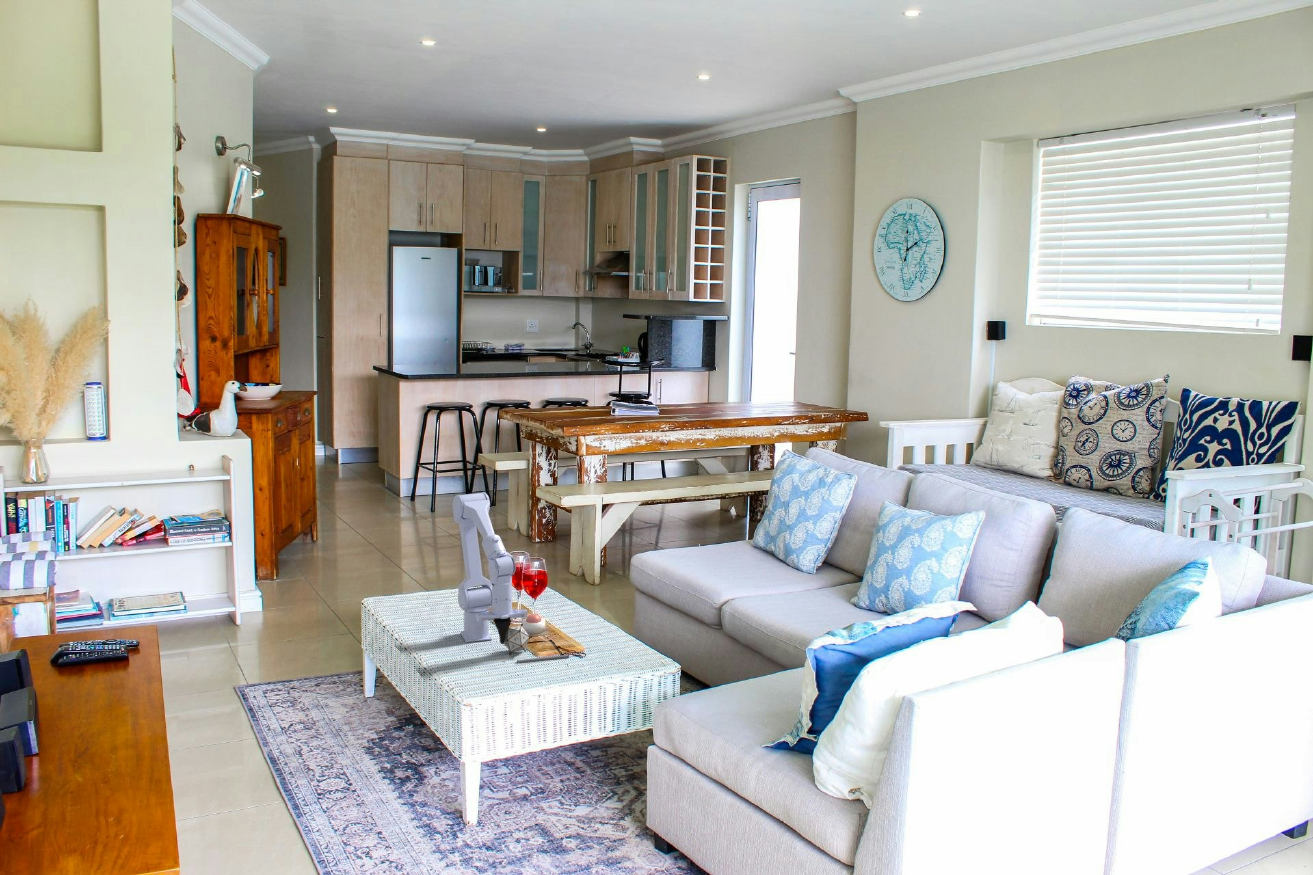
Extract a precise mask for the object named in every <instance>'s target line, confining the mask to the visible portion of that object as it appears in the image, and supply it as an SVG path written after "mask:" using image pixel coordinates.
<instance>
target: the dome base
mask: <svg viewBox="0 0 1313 875" xmlns="http://www.w3.org/2000/svg"><path fill="white" fill-rule="evenodd" d="M549 633H550V634H551V629H550V627H548V626H545V631H544V632H542V633H538V634H528V635H529V636H533V637H538V636H545V635H547V634H549Z"/></svg>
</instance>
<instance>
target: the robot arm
mask: <svg viewBox="0 0 1313 875" xmlns="http://www.w3.org/2000/svg"><path fill="white" fill-rule="evenodd" d="M451 506H452V513H453V520H454V522H455V523H457V524H458V525H459V532H460V540H461V547H462V548H461V549H462V556H463V564H464V565H463V566H464V573H465V578H464V579H463V580H462V581H461V583H459V585H458V587H457V590H458V591H457V592H458V593H457V602H458V605H459V607H460V609H462V611H464V612H463V630H461V631H460V634H461V636H462V638H463V640H464V642H465V643H470V642H471V643H473V642H483V641H492V640H493V637H492V636H491V634H490V632H489V628H490V627H489V621H493V623H494V625H495V627H496V630H497V632H498V636H499V642H500V645H505V644H504V639H505V636H506V633H507V630H508V628H509V627H510V626H511V624H512V620H511V619H518V618H523V619H525V618H527V617H528V610H527V609H526V608H524V609H513V582H512V581H513V580H512V579H513V576H514V574H515V572H516V570H517V569H516V562H515V558H514V557H513V555H511V554H510V553H509V552H507V550H506V547H505V546H504V543H503V540H502V538H501V537H500V535H498V534H495V531H494V528H493V525H492V524H493V523H492V521H491V518H490V513H489V512H490V508H491V507H490V506H491V501H490V497H489V495H488V494H487V493H486V492H485V491H483V492H482V491H481V492H477V493H468V494H456V495H455V496H454V497H453V500H452V505H451ZM478 531H479V533H480V536H481V538H482V542H481V546H482V549H483V551H484V553H485V556H486V559H487V560H488V563H487V570H488V574H489V579H488V578H486V577H485V576H483V569H482V560H481V555H480V554H481V553H480V546H479V539H478V537H479V536H478ZM490 609H491V610H490Z"/></svg>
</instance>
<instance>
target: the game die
mask: <svg viewBox="0 0 1313 875" xmlns="http://www.w3.org/2000/svg"><path fill="white" fill-rule="evenodd" d="M522 625H523V623H522V622H521V624H520V625H516V626H511V627H510V626H509V628H508V630H507V633H506V636H505V639H504V644H503V645H504V646H505V647H506V648H507V649H508V652H509V653H508V655H510V656H511V654H512V653H515V652H521V651H524V653H527V650H526V648H527V645H528V644H529V643H528V641H529V639H530V638H532V637H533V636H529V635H528V633H527V632H526V631H525V629H524V628H523V627H522Z"/></svg>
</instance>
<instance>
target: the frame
mask: <svg viewBox="0 0 1313 875" xmlns="http://www.w3.org/2000/svg"><path fill="white" fill-rule="evenodd" d="M569 657H570V656H569V654H568V653H567V654H564V655H562V654H561V655H555V656H544V657H533V658H527V659H524V658H523V659H516V663H517V664H524V663H533V662H536V663H537V662H544V661H551V660H553V661H554V660H562V659H569Z"/></svg>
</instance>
